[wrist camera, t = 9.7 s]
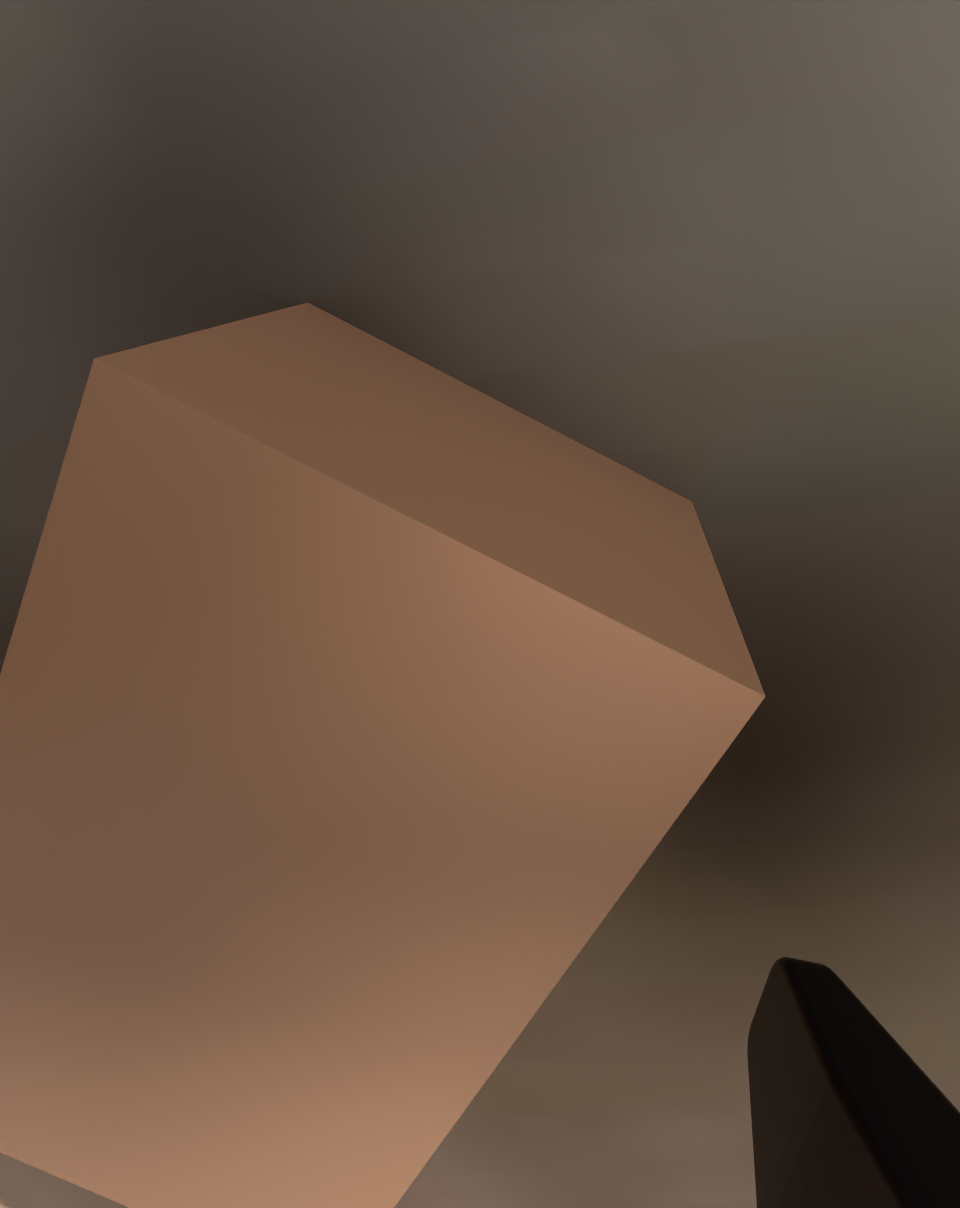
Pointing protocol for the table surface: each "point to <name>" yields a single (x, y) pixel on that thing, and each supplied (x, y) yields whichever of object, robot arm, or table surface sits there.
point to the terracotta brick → (324, 759)
